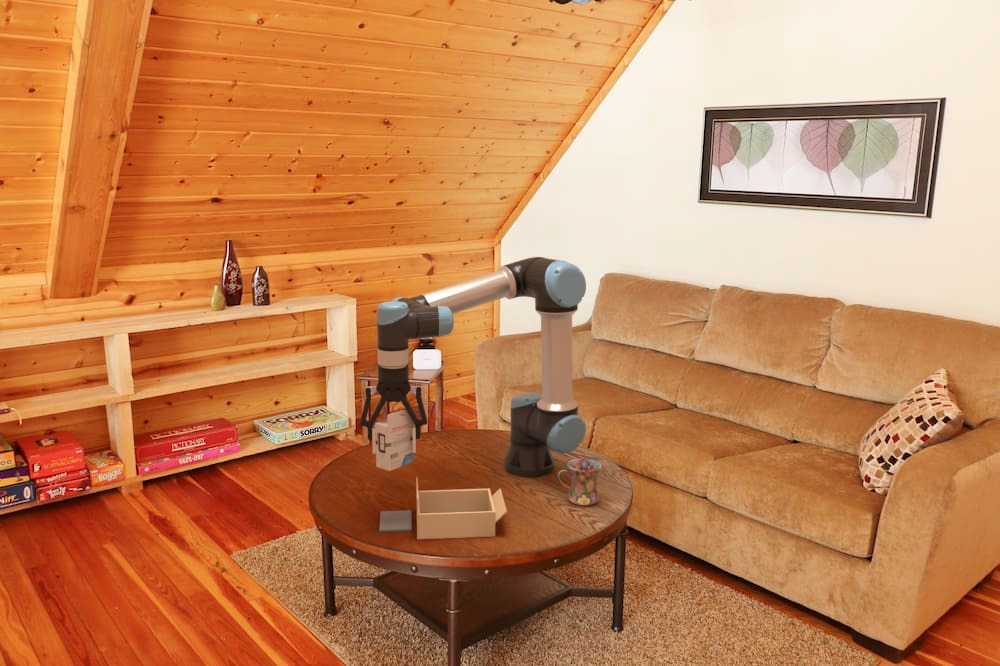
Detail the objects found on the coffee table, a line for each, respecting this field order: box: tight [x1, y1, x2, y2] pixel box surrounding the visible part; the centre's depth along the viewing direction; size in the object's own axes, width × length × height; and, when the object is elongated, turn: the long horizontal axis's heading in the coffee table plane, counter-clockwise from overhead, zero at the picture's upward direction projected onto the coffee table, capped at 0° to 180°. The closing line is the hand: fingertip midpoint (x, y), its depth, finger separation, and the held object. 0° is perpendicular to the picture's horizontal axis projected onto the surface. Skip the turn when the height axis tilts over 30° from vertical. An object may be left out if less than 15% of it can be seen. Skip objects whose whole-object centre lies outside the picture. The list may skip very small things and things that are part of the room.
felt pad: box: [378, 509, 412, 533], centre depth 210 cm, size 8×11×1 cm
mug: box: [557, 458, 603, 506], centre depth 223 cm, size 12×9×11 cm
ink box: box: [374, 408, 414, 472], centre depth 205 cm, size 8×5×15 cm, turn 140°
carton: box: [415, 476, 508, 540], centre depth 209 cm, size 22×17×10 cm
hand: (394, 451), depth 205 cm, fingers closed on ink box, 9 cm apart
